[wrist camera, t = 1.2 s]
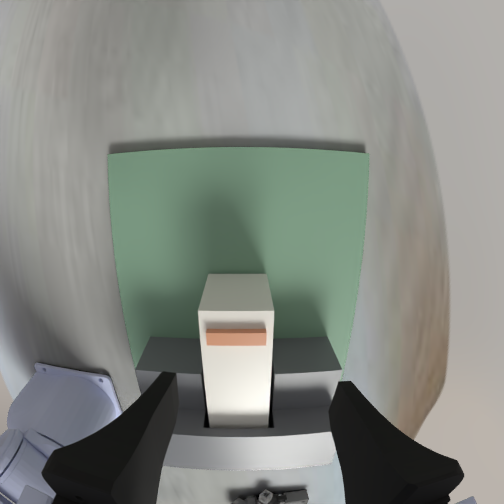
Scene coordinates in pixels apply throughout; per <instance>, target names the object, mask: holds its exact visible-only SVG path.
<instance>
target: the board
mask: <svg viewBox="0 0 504 504" xmlns="http://www.w3.org/2000/svg"><path fill="white" fill-rule="evenodd" d="M368 179H369V154H368V153H358V152H347V151H334V150H320V149H302V148H276V147H207V148H181V149H163V150H149V151H137V152H126V153H116V154H108V181H109V200H110V215H111V227H112V237H113V246H114V255H115V263H116V271H117V278H118V285H119V291H120V297H121V303H122V309H123V314H124V320H125V325H126V330H127V335H128V340H129V344H130V349H131V353H132V358H133V362H134V366H135V368H136V366H137V364H138V362H139V360H140V357H141V355H142V353H143V351H144V349H145V347H146V345H147V343H148V340H149V338H150V337H169V338H196V339H200V330H199V318H198V309H199V305H200V302H201V298H202V295H203V291H204V287H205V284H206V281H207V277H208V274H267V278H268V283H269V287H270V292H271V297H272V302H273V307H274V329H273V339H280V338H307V337H326V336H327V337H328V339H329V341H330V343H331V345H332V348H333V350H334V352H335V354H336V357H337V359H338V361H339V363H340V366H341V368H342V374H341V379H340V381H342V376H343V372H344V367H345V362H346V357H347V352H348V347H349V342H350V337H351V331H352V326H353V320H354V314H355V307H356V301H357V294H358V287H359V280H360V272H361V264H362V255H363V246H364V236H365V225H366V212H367V198H368Z"/></svg>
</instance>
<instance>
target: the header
mask: <svg viewBox="0 0 504 504" xmlns="http://www.w3.org/2000/svg"><path fill="white" fill-rule="evenodd" d="M163 371H166V372H173V373H176V374H177V386H178V396H179V408H178V414H177V419H176V424H175V427H174V430H173V433H172V437H171V440H170V443H169V446H168V449H167V452H166V455H165V458H164V462H163V466H170V467H179V468H191V469H206V470H275V469H290V468H301V467H311V466H320V465H327V464H331V463H332V460H333V457H334V455H335V452H336V448H335V444H334V440H333V437H332V433H331V428H330V421H329V413H328V411H329V408H330V405H331V402H332V399H333V396H334V393H335V390H336V387H337V384H338V381H340V379H341V374H342V368H341V366H340V363H339V361H338V359H337V357H336V354H335V352H334V350H333V348H332V345H331V343H330V341H329V339H328V337H327V336H326V337H307V338H280V339H273V350H272V369H271V387H270V403H269V419H268V428H253V429H227V428H210V425H209V417H208V409H207V400H206V392H205V383H204V373H203V363H202V353H201V342H200V339H196V338H169V337H150V338H149V340H148V343H147V345H146V347H145V349H144V351H143V353H142V355H141V357H140V360H139V362H138V364H137V366H136V368H135V372H136V376H137V380H138V384H139V388H140V391H141V395H142V394H143V393H144V392H145V391H146V390H147V389H148V388H149V386H150V385H151V384H152V383H153V382H154V381H155V379H156V378H157V377H158V376H159V374H160V373H161V372H163Z"/></svg>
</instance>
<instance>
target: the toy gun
mask: <svg viewBox="0 0 504 504" xmlns="http://www.w3.org/2000/svg"><path fill="white" fill-rule="evenodd" d="M308 500H309V498H308V494H307V491H306V490H301V491H295V492H288V493H283V495H281V496H278V494H273V493H271V492H270V491H268V490H266V489H265V490H264V491H263V492H262V493H261V494H260V495H259V499H258V500H257V497H256V496H254V497H248V498H247V499H245V500H242V499H240V498H239V497H238V498H237V499H236V500H235V501H234V502H233V503H232V504H307V502H308Z"/></svg>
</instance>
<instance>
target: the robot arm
mask: <svg viewBox="0 0 504 504" xmlns="http://www.w3.org/2000/svg"><path fill="white" fill-rule="evenodd" d="M34 367H35V370H36V373H35V374H34V375H33V377H32V378H31V379H30V380H29V382H28V383H27V384H26V386H25V387H24V388H23V389H22V391H21V392H20V393H19V395H18V396H17V397H16V399H15V400H14V401H13V403H12V404H11V406H10V409H9V412H8V417H7V426H8V430H6V431H5V432H4V433H3V434H2V435H1V436H0V492H1V493H3V494H4V495H5V496H6V497H8V498H9V499H10V500H12V501H13V502H14V503H16V504H156V500H157V494H158V487H159V481H160V476H161V470H162V466H163V462H164V458H165V455H166V452H167V449H168V446H169V443H170V440H171V437H172V433H173V430H174V427H175V424H176V419H177V414H178V408H179V396H178V386H177V374H176V373H173V372H166V371H163V372H161V373H160V374H159V376H158V377H157V378H156V379H155V381H154V382H153V383H152V384H151V385H150V386H149V388H148V389H147V390H146V391H145V392H144V393H143V394H142V395H141V396H140V397H139V398H138V399H137V400H136V401H135V402H134V403H133V404H132V405H131V406H130V407H129V408H128V409H127V410H125V411H124V412H123V413H122V410H121V407H120V405H119V402H118V399H117V396H116V393H115V390H114V387H113V384H112V381H111V378H110V377H109V376H107V375H102V374H96V373H89V372H83V371H77V370H72V369H66V368H61V367H56V366H51V365H46V364H42V363H35V365H34ZM100 378H101V379H102V380H101V379H100ZM328 413H329V421H330V428H331V433H332V437H333V440H334V444H335V448H336V451H337V455H338V458H339V462H340V466H341V470H342V475H343V483H344V491H345V502H346V504H448V502H449V501H450V497H449V495H448V494H449V493H451V492H452V491H453V490H454V489H455V488H456V487H457V486H458V485H459V484H460V482H461V481H462V480H463V477H464V473H463V471H462V469H461V467H460V465H459V463H458V461H457V460H454V459H452V458H449V457H446V456H443V455H441V454H438V453H436V452H434V451H432V450H430V449H428V448H426V447H424V446H422V445H421V444H419V443H417V442H416V441H414V440H412V439H411V438H409V437H408V436H407V435H405V434H404V433H402V432H401V431H400V430H399V429H397V428H396V427H395V426H394V425H392V424H391V423H390V422H389V421H388V420H387V419H386V418H385V417H384V416H383V415H382V414H380V413H379V412H378V411H377V409H376V408H375V407H374V406H373V405H372V404H371V403H370V402H369V401H368V400H367V399H366V398H365V397H364V395H363V394H362V393H361V392H360V391H359V390H358V389H357V387H356V386H355V385H354V384H353V383H352V382H351V381H338V384H337V387H336V390H335V393H334V396H333V399H332V402H331V405H330V408H329V411H328ZM0 504H12V503H11V502H10V501H8V500H7V499H6V498H4V497H3V496H2V495H1V494H0ZM456 504H477V503H476V501H475V499H474V497H473V496H472V497H469V498H467V499H465V500H463V501H460V502H458V503H456Z"/></svg>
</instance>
